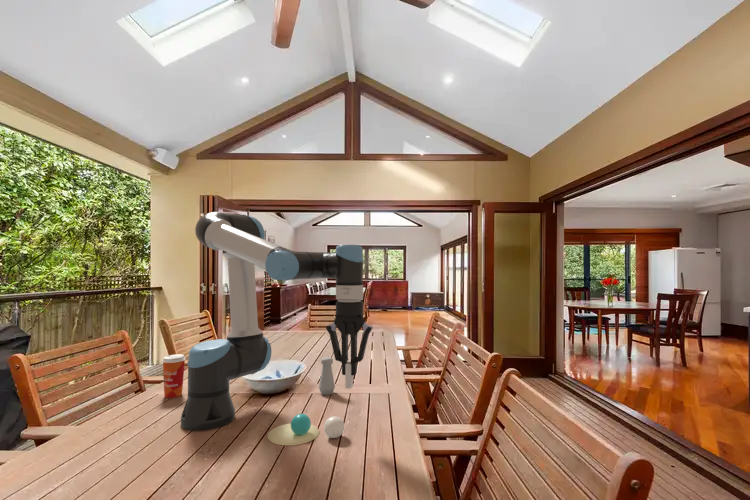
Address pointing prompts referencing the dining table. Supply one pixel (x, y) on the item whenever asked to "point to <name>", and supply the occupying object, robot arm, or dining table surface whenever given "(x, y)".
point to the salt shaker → (326, 377)
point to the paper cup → (173, 375)
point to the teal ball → (300, 424)
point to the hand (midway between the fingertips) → (349, 386)
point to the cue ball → (334, 427)
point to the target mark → (291, 435)
